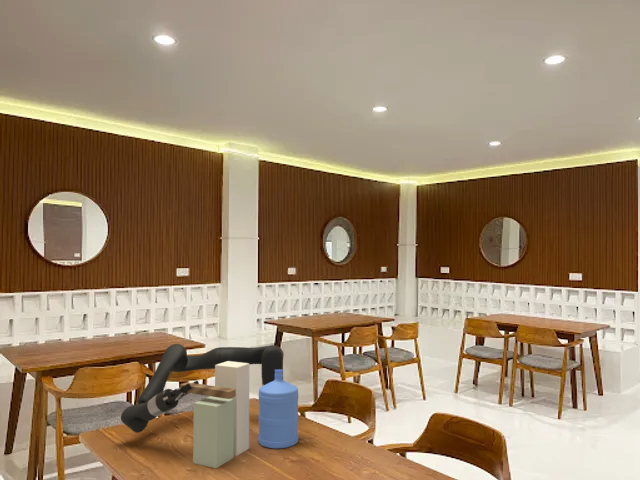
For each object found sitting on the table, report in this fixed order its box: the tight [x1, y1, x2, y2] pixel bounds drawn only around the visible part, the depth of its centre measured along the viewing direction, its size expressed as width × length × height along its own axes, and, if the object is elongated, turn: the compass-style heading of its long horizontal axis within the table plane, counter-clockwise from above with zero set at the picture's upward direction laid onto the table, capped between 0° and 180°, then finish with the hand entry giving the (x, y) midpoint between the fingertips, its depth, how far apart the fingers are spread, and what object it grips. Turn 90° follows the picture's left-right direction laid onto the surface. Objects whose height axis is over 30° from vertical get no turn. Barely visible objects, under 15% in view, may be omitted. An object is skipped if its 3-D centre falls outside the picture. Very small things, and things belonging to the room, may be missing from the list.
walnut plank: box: [179, 381, 236, 399], centre depth 184 cm, size 22×4×2 cm, turn 64°
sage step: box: [192, 396, 234, 469], centre depth 182 cm, size 10×10×21 cm
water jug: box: [257, 369, 299, 449], centre depth 201 cm, size 16×16×28 cm
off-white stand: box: [214, 361, 250, 457], centre depth 192 cm, size 10×8×32 cm
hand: (193, 384), depth 187 cm, fingers closed on walnut plank, 4 cm apart
